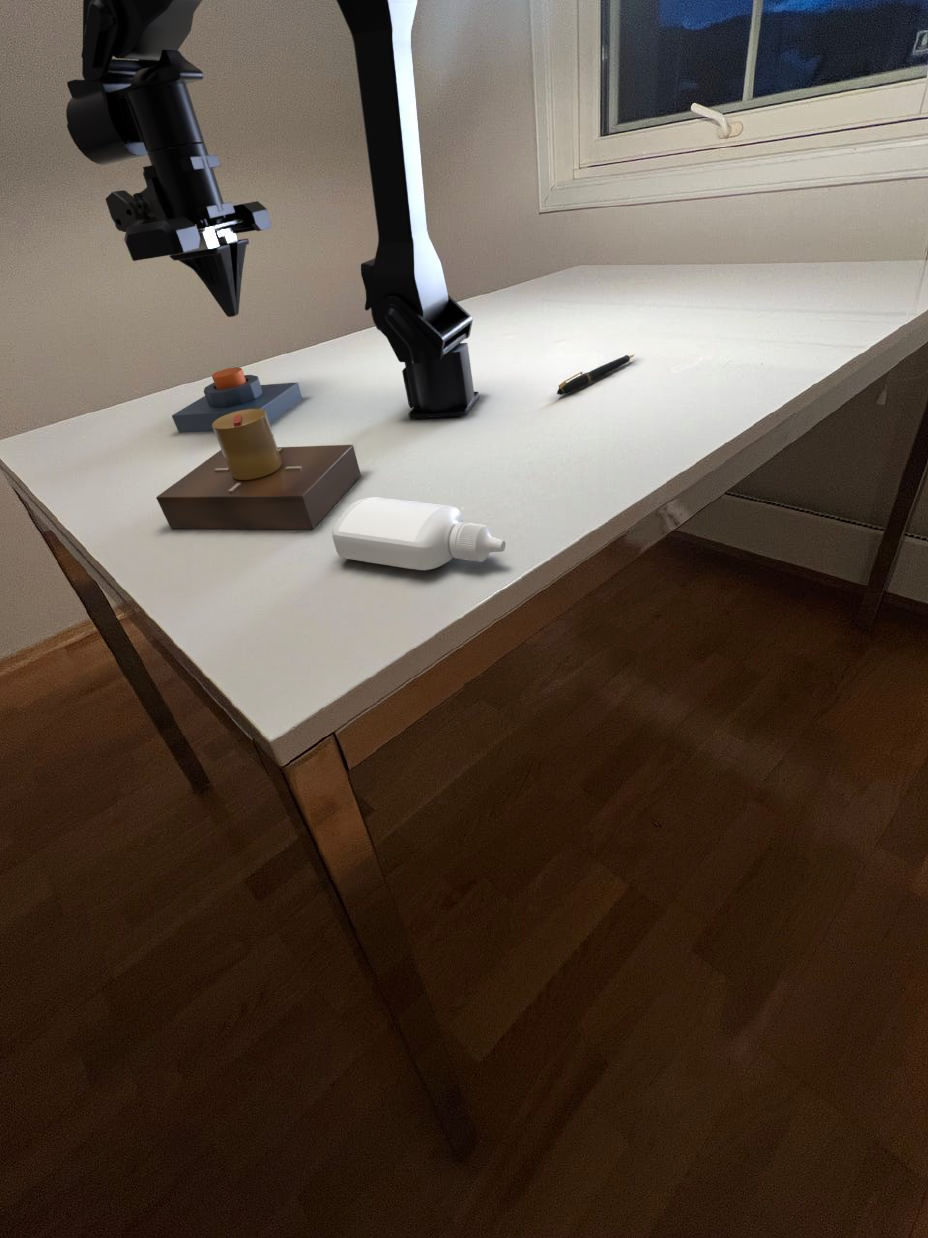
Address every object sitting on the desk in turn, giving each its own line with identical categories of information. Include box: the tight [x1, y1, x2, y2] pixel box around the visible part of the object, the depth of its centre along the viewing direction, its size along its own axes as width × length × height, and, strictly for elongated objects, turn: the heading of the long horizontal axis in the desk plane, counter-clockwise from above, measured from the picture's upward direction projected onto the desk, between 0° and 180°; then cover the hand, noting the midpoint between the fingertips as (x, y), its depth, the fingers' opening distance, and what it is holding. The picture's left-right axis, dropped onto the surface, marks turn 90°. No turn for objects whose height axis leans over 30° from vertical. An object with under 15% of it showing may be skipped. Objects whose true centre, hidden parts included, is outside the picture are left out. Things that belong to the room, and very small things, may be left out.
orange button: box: [211, 367, 246, 390], centre depth 76 cm, size 4×4×2 cm
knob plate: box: [155, 444, 362, 530], centre depth 55 cm, size 14×10×3 cm
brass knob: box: [212, 409, 282, 480], centre depth 53 cm, size 4×4×5 cm
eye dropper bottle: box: [331, 496, 506, 571], centre depth 43 cm, size 4×6×12 cm
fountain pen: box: [556, 353, 636, 396], centre depth 70 cm, size 14×1×2 cm, turn 134°
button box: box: [171, 374, 303, 434], centre depth 77 cm, size 12×10×4 cm
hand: (233, 315), depth 72 cm, fingers closed
